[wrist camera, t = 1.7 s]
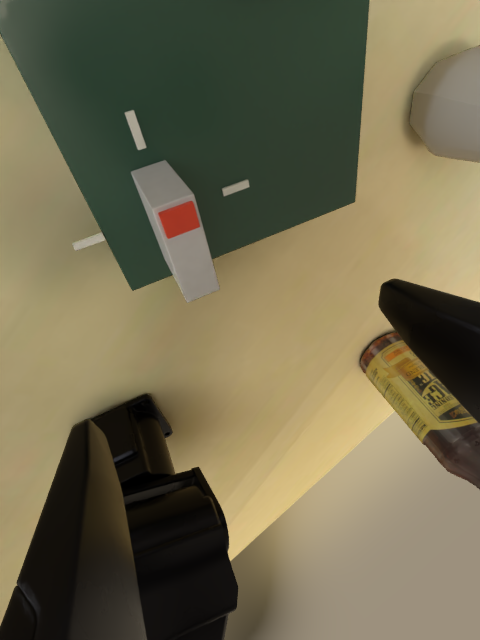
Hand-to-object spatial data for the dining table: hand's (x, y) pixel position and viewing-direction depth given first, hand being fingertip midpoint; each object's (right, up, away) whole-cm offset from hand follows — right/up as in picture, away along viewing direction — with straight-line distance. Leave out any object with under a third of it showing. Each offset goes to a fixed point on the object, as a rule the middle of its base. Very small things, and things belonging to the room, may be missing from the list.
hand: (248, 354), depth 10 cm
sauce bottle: (+15, -2, +30) cm, 34 cm away
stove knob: (-4, +6, +7) cm, 10 cm away
